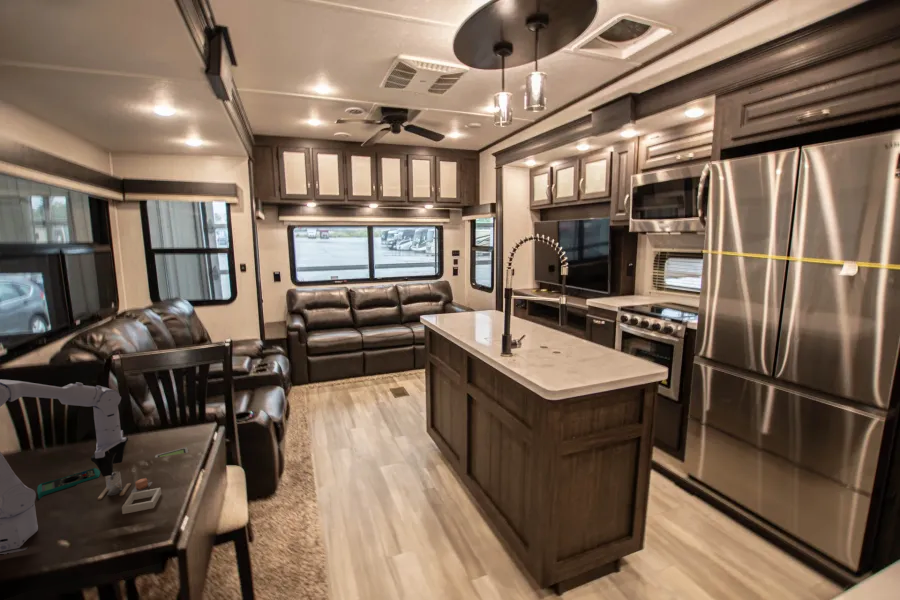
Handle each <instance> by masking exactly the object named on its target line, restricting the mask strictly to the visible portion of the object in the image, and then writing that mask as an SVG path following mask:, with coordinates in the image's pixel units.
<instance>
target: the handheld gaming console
mask: <svg viewBox="0 0 900 600" xmlns="http://www.w3.org/2000/svg"><path fill="white" fill-rule="evenodd" d="M188 453H189V449H188V447H181V448H178V449H174V450H170V451H166V452H162V453H157V454H155V456H154V458H155V459H156V458H161V457H168V456H174V455H181V454H188Z"/></svg>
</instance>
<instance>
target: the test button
mask: <svg viewBox="0 0 900 600" xmlns="http://www.w3.org/2000/svg"><path fill="white" fill-rule="evenodd" d="M148 481H149V480H148V479H147V478H146V477H145V478H140V479H137V480H135V486H136V489H137V490H141V489H144V488H146V487H147V486H148V483H149V482H148Z"/></svg>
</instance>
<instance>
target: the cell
mask: <svg viewBox="0 0 900 600" xmlns="http://www.w3.org/2000/svg"><path fill="white" fill-rule="evenodd" d="M104 477H105V485H106V486H105V488H107V493H106V494H107V496H117V495H118V494H120V493H121V492H122V490H123V485H122V475H121V471H113V472H112V475H110V476H104Z"/></svg>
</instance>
